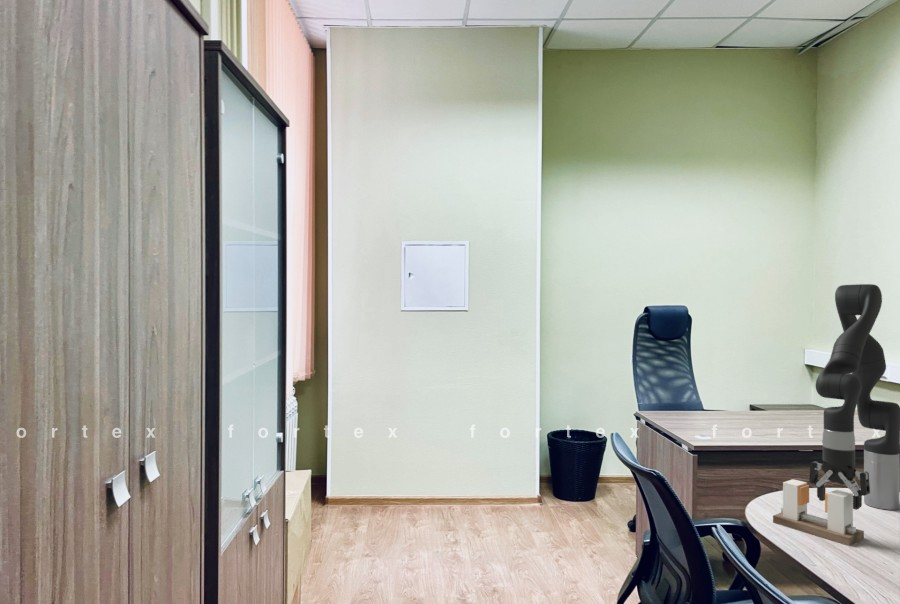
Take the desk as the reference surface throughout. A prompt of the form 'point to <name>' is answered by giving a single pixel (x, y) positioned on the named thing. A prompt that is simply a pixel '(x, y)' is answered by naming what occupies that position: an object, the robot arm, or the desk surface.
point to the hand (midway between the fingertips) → (838, 504)
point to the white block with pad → (839, 510)
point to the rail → (818, 530)
